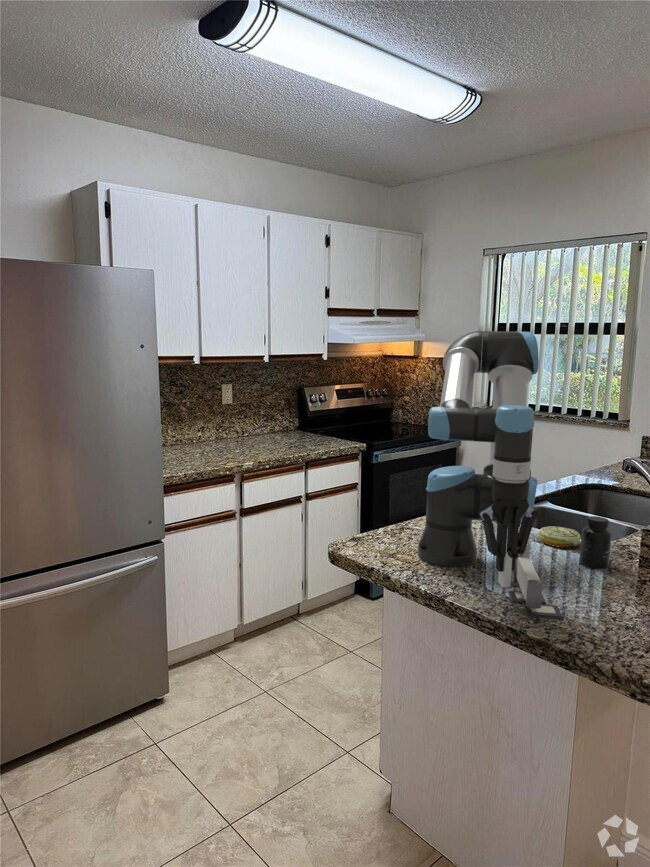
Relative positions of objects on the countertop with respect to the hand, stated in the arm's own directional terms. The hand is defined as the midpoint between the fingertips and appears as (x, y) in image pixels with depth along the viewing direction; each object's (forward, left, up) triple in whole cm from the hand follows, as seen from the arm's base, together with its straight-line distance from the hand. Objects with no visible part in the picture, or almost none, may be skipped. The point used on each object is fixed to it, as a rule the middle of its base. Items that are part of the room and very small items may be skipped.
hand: (504, 584), depth 131 cm
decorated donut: (+5, +45, -4) cm, 45 cm away
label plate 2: (+8, -2, -3) cm, 9 cm away
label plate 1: (+4, +3, -3) cm, 6 cm away
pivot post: (+1, +11, -3) cm, 11 cm away
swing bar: (+5, +2, -1) cm, 5 cm away
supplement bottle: (+15, +32, -4) cm, 36 cm away
